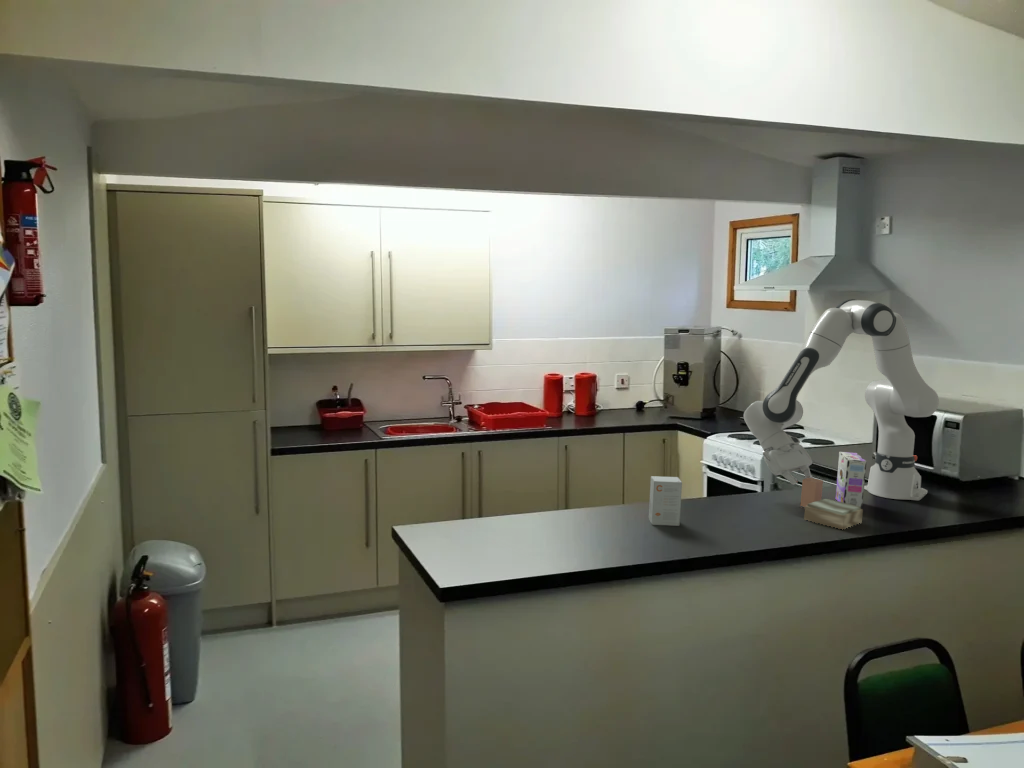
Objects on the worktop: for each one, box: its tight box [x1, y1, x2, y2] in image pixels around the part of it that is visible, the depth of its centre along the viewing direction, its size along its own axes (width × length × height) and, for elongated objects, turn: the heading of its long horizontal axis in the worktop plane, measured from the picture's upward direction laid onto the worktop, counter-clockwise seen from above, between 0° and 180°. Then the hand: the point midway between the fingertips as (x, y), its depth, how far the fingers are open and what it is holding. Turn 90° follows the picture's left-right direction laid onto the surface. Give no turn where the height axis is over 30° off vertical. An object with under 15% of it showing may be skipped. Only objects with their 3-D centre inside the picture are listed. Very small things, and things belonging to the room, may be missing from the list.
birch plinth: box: [803, 498, 864, 531], centre depth 242 cm, size 12×12×5 cm
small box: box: [648, 475, 683, 527], centre depth 234 cm, size 8×6×13 cm
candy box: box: [835, 451, 867, 509], centre depth 260 cm, size 14×6×16 cm, turn 168°
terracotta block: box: [800, 477, 824, 507], centre depth 256 cm, size 4×4×9 cm
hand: (803, 481), depth 258 cm, fingers open, 8 cm apart
